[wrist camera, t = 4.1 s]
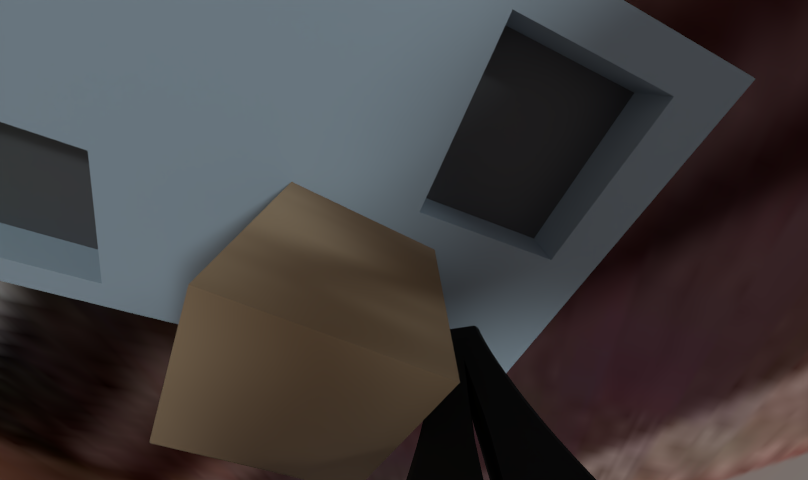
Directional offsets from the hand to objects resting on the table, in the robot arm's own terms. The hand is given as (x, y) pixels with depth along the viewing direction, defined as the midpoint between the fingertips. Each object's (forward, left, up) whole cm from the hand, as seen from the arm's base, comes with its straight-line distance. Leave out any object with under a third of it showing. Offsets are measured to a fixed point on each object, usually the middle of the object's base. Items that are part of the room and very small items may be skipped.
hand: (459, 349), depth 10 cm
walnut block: (+4, -1, -1) cm, 5 cm away
